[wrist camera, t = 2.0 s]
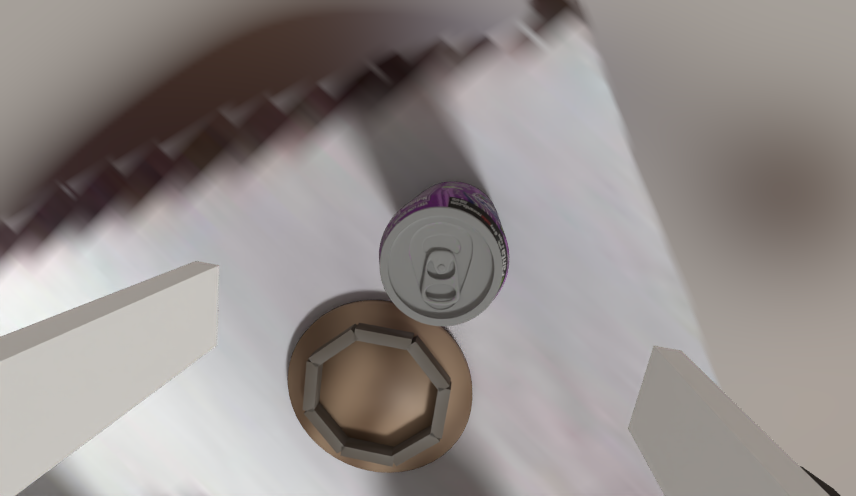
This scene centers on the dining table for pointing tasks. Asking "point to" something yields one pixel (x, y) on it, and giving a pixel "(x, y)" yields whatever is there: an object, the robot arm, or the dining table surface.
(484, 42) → the dining table surface
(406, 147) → the dining table surface
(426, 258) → the beverage can
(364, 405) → the coaster
